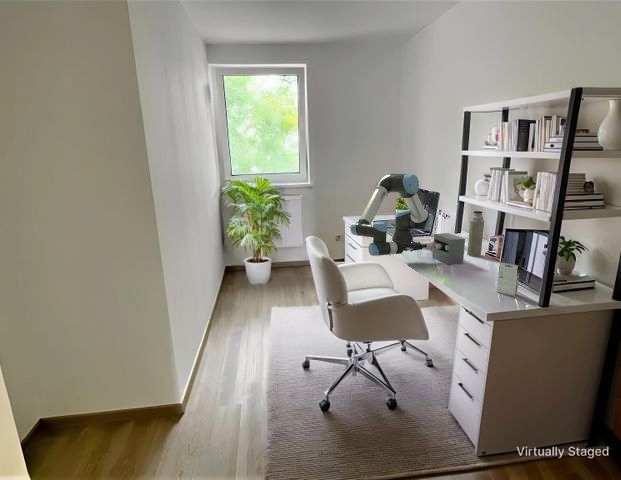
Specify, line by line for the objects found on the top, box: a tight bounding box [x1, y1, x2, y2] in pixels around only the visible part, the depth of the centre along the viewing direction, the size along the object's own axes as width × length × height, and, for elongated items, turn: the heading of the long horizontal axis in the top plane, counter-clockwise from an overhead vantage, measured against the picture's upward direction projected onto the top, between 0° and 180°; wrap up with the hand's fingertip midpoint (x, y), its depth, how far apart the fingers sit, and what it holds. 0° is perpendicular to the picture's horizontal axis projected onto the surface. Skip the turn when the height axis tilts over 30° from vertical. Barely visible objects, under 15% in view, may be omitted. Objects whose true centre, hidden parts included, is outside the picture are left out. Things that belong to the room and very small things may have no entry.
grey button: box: [435, 243, 445, 249], centre depth 220 cm, size 3×5×3 cm, turn 105°
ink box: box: [495, 261, 520, 297], centre depth 169 cm, size 4×8×15 cm, turn 47°
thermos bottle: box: [466, 210, 485, 258], centre depth 231 cm, size 8×8×28 cm
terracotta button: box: [430, 241, 440, 248], centre depth 224 cm, size 3×5×3 cm, turn 105°
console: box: [431, 232, 466, 266], centre depth 221 cm, size 16×10×15 cm, turn 15°
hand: (430, 244), depth 223 cm, fingers closed
